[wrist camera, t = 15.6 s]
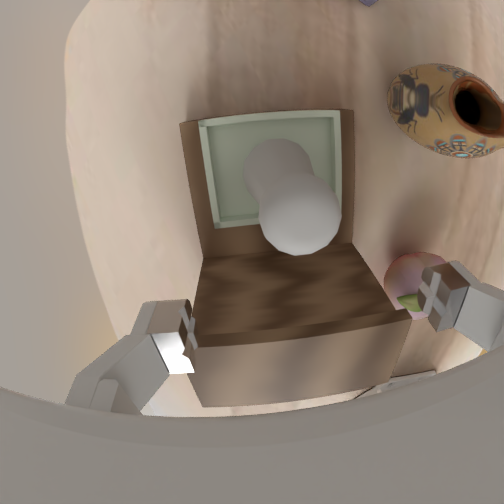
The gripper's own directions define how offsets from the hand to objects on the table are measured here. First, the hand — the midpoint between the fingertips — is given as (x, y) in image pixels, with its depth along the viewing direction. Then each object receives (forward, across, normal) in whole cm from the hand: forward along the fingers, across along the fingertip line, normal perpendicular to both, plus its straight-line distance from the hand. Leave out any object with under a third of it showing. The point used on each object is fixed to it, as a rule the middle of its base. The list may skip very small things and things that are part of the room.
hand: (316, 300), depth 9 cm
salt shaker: (+18, -1, 0) cm, 19 cm away
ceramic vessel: (+22, -18, -6) cm, 29 cm away
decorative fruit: (+22, -18, +15) cm, 32 cm away
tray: (+19, -1, 0) cm, 19 cm away
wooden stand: (+22, -1, +5) cm, 23 cm away
